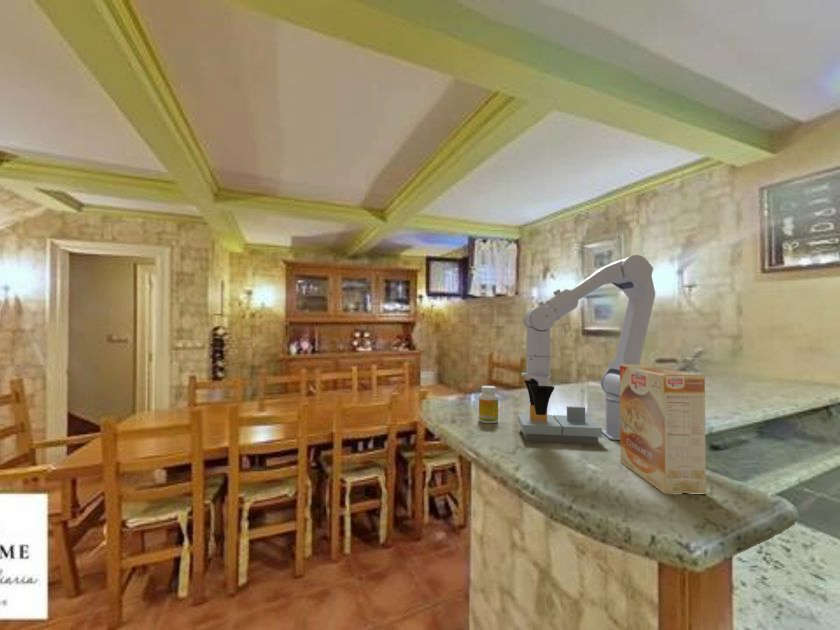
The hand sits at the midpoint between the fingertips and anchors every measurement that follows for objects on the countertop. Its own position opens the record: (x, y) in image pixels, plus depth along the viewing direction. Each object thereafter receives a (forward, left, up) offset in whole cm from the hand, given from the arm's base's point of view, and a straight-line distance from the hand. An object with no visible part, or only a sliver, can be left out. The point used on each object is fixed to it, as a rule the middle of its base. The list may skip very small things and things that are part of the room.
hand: (538, 411), depth 95 cm
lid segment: (-9, 0, -4) cm, 10 cm away
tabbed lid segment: (0, 0, -4) cm, 4 cm away
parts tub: (-5, 0, -6) cm, 8 cm away
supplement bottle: (+11, -13, -6) cm, 18 cm away
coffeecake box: (-18, +23, -6) cm, 30 cm away
